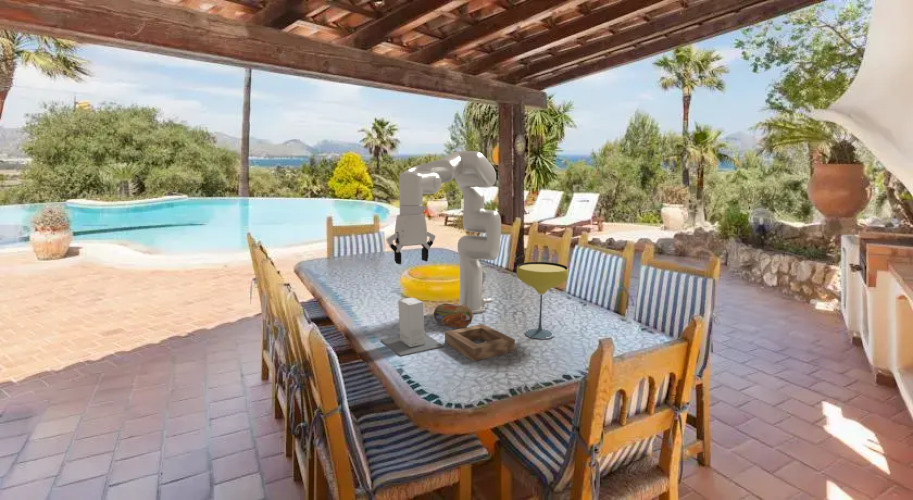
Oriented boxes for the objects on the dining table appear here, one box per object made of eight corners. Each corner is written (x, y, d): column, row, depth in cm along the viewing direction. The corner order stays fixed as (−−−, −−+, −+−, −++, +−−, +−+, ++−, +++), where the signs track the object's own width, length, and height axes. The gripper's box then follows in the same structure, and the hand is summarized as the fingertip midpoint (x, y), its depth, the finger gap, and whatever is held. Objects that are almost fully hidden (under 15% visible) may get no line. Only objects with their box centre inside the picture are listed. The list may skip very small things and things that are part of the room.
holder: (483, 334, 171) (483, 324, 170) (514, 351, 156) (514, 339, 155) (444, 342, 162) (444, 331, 162) (473, 361, 147) (474, 349, 147)
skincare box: (425, 344, 159) (425, 302, 157) (409, 348, 156) (408, 304, 154) (413, 337, 166) (413, 296, 164) (398, 340, 163) (397, 298, 161)
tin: (433, 324, 182) (433, 303, 180) (436, 322, 184) (436, 301, 183) (470, 329, 176) (471, 307, 175) (473, 326, 179) (473, 305, 178)
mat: (421, 332, 172) (421, 331, 172) (444, 346, 159) (444, 345, 159) (380, 340, 164) (380, 339, 164) (400, 356, 151) (400, 355, 151)
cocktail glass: (567, 329, 177) (571, 263, 173) (562, 346, 160) (565, 274, 156) (520, 323, 183) (522, 260, 179) (509, 339, 166) (511, 269, 162)
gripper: (429, 208, 162) (429, 257, 165) (381, 210, 153) (382, 262, 156) (440, 210, 155) (440, 261, 158) (391, 212, 146) (392, 267, 149)
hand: (411, 262), depth 157 cm, fingers open, 9 cm apart
